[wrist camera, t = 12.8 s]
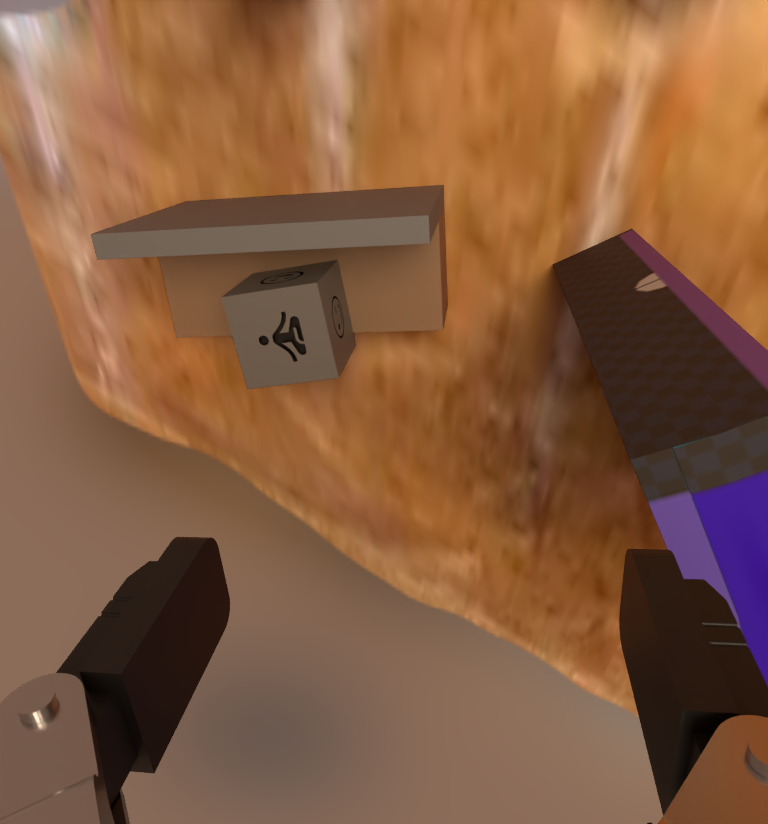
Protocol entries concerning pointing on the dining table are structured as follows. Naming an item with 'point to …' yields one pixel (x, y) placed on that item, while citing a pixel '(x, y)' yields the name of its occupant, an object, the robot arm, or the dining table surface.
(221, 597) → the robot arm
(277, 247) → the board
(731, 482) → the cereal box
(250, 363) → the dice cube
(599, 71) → the dining table surface
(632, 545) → the dining table surface
